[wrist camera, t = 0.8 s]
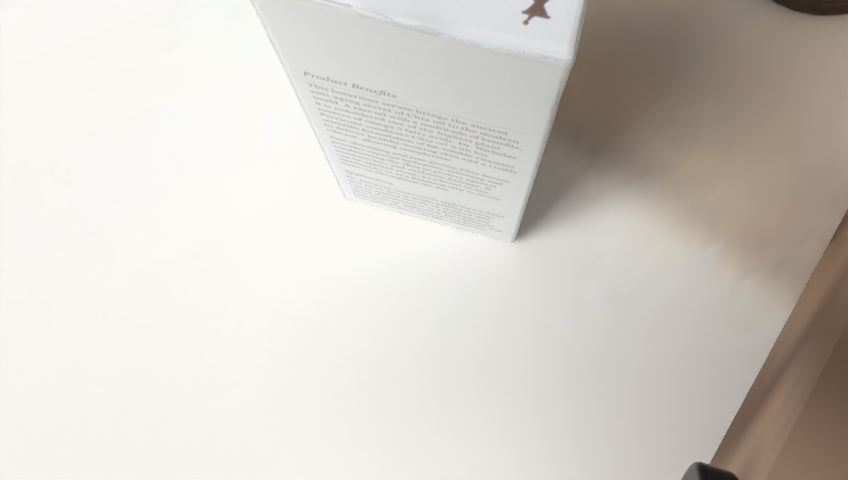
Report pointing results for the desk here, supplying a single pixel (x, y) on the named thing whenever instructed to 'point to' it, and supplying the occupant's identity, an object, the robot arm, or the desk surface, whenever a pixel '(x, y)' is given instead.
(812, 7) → the dark brown curved piece
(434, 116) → the skincare box
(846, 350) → the holder block
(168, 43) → the desk surface
